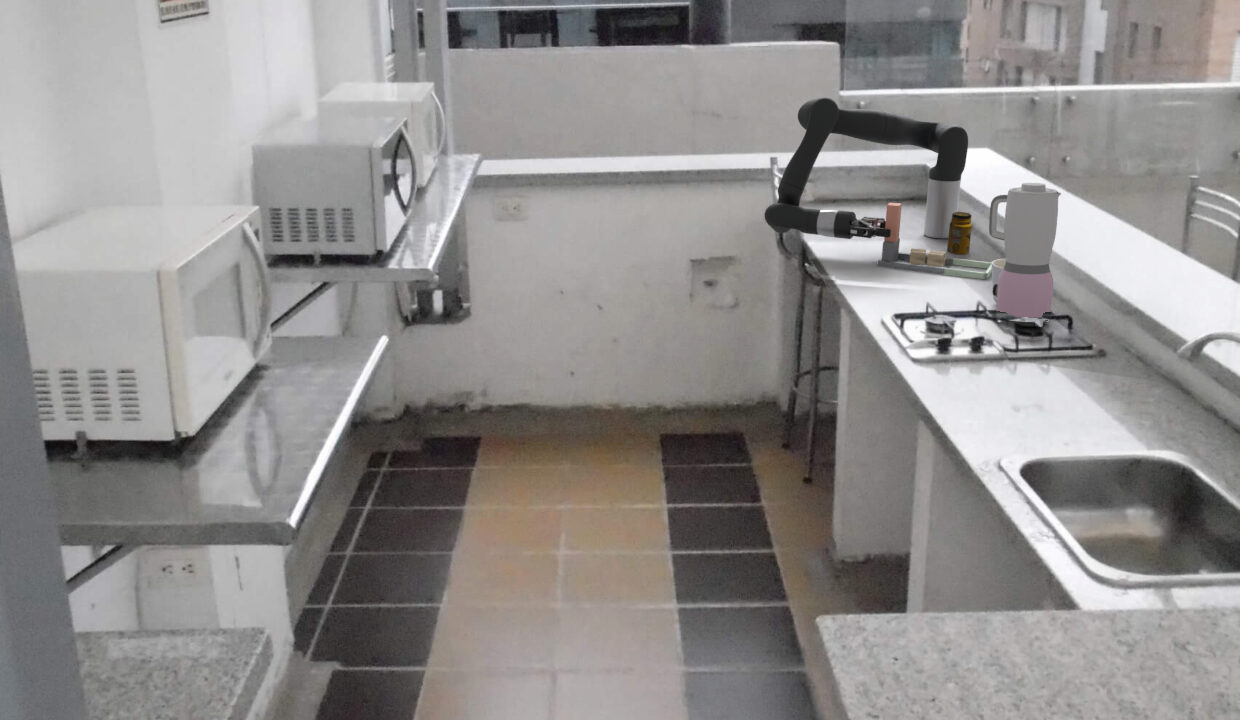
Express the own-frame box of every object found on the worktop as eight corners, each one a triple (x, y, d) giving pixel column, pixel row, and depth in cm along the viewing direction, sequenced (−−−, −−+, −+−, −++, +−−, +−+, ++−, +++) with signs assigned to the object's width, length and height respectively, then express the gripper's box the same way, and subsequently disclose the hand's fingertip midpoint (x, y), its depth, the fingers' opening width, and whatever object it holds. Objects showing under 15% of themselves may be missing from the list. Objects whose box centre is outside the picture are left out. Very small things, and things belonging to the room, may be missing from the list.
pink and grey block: (886, 258, 328) (891, 201, 322) (898, 259, 326) (903, 202, 321) (880, 263, 322) (885, 205, 317) (892, 265, 321) (897, 207, 315)
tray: (952, 267, 323) (953, 258, 322) (994, 271, 319) (995, 262, 318) (943, 277, 313) (944, 268, 312) (986, 282, 308) (987, 273, 308)
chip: (929, 264, 322) (931, 250, 320) (944, 266, 320) (946, 251, 319) (926, 268, 318) (927, 253, 317) (941, 269, 317) (943, 255, 315)
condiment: (975, 256, 334) (979, 214, 330) (954, 260, 330) (959, 218, 326) (955, 250, 340) (959, 209, 336) (934, 255, 336) (938, 213, 332)
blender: (1057, 319, 277) (1070, 182, 269) (1041, 330, 268) (1054, 189, 259) (991, 311, 286) (1001, 178, 278) (973, 321, 277) (983, 184, 268)
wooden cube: (909, 262, 324) (911, 248, 322) (925, 263, 322) (926, 249, 321) (909, 266, 320) (910, 251, 319) (924, 267, 319) (925, 253, 318)
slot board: (887, 259, 331) (888, 250, 330) (952, 267, 323) (953, 258, 322) (876, 269, 320) (877, 260, 320) (943, 277, 313) (944, 268, 312)
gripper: (829, 215, 321) (889, 221, 314) (844, 205, 333) (901, 211, 326) (827, 242, 323) (886, 249, 316) (842, 231, 335) (899, 237, 328)
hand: (894, 230), depth 321 cm, fingers open, 8 cm apart
